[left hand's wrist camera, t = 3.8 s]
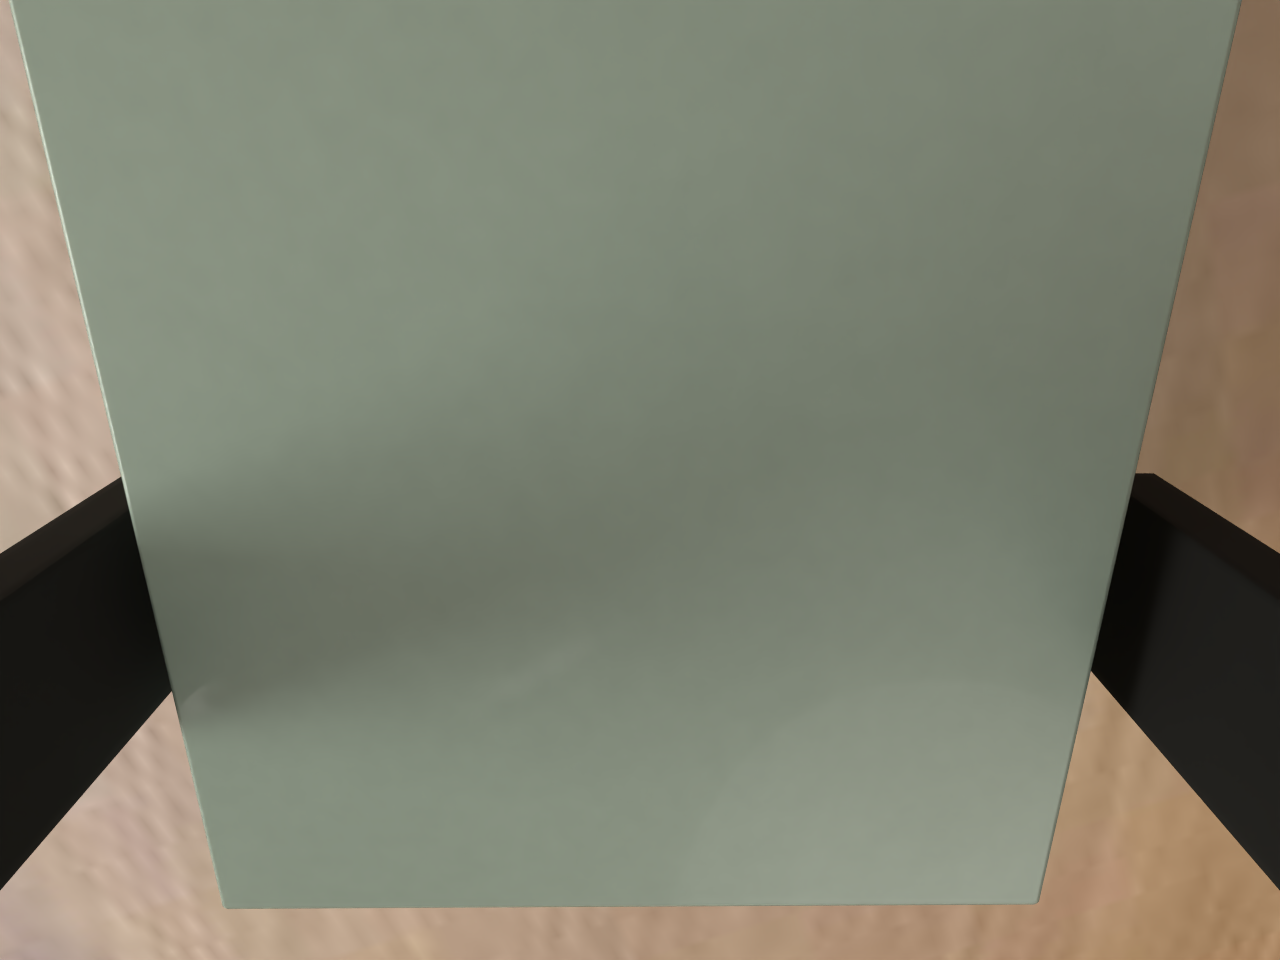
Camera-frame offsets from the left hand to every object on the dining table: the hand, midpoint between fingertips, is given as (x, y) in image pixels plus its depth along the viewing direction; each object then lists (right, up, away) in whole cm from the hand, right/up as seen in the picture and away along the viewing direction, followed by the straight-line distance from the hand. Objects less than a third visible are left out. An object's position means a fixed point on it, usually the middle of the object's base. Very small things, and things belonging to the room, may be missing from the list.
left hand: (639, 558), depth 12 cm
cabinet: (0, +8, +4) cm, 8 cm away
